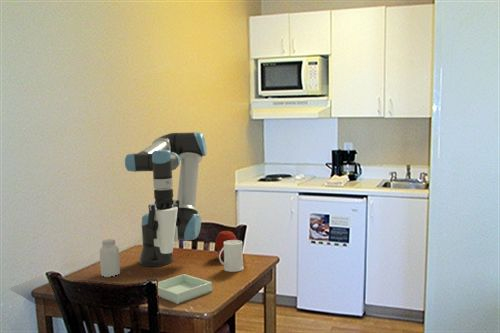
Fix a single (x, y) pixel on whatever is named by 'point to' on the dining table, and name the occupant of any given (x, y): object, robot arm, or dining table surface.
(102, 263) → the pill bottle
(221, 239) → the red rounded piece
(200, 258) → the dining table surface
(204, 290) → the tray
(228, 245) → the mug
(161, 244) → the cup
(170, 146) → the robot arm
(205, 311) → the dining table surface
